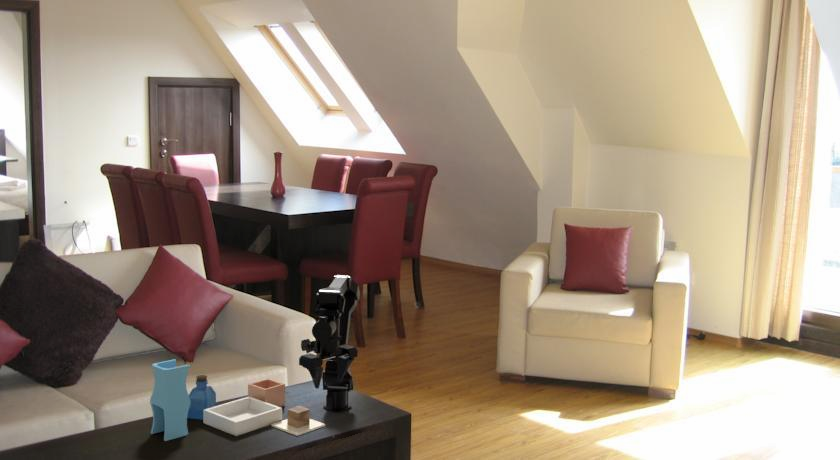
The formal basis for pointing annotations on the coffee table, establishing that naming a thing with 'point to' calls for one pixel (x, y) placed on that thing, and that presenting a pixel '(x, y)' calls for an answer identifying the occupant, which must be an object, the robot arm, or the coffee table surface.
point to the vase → (170, 400)
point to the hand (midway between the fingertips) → (328, 384)
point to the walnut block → (298, 416)
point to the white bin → (242, 415)
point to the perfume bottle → (201, 398)
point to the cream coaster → (298, 431)
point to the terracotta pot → (268, 392)
